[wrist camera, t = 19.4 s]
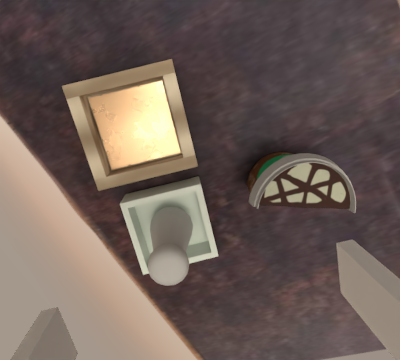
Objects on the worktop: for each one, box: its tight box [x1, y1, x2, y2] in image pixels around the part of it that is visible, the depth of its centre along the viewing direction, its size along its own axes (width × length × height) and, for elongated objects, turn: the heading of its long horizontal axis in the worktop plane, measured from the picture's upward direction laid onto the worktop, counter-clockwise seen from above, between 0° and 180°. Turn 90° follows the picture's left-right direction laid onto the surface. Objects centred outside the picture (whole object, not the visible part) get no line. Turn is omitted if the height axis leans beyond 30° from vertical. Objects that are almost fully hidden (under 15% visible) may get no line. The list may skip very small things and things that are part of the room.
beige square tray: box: [62, 59, 198, 191], centre depth 37 cm, size 13×13×4 cm
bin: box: [120, 176, 218, 275], centre depth 41 cm, size 11×11×4 cm
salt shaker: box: [148, 207, 193, 286], centre depth 36 cm, size 6×6×13 cm
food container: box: [247, 152, 356, 213], centre depth 37 cm, size 12×6×10 cm, turn 86°
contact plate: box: [89, 80, 181, 170], centre depth 38 cm, size 9×9×1 cm
